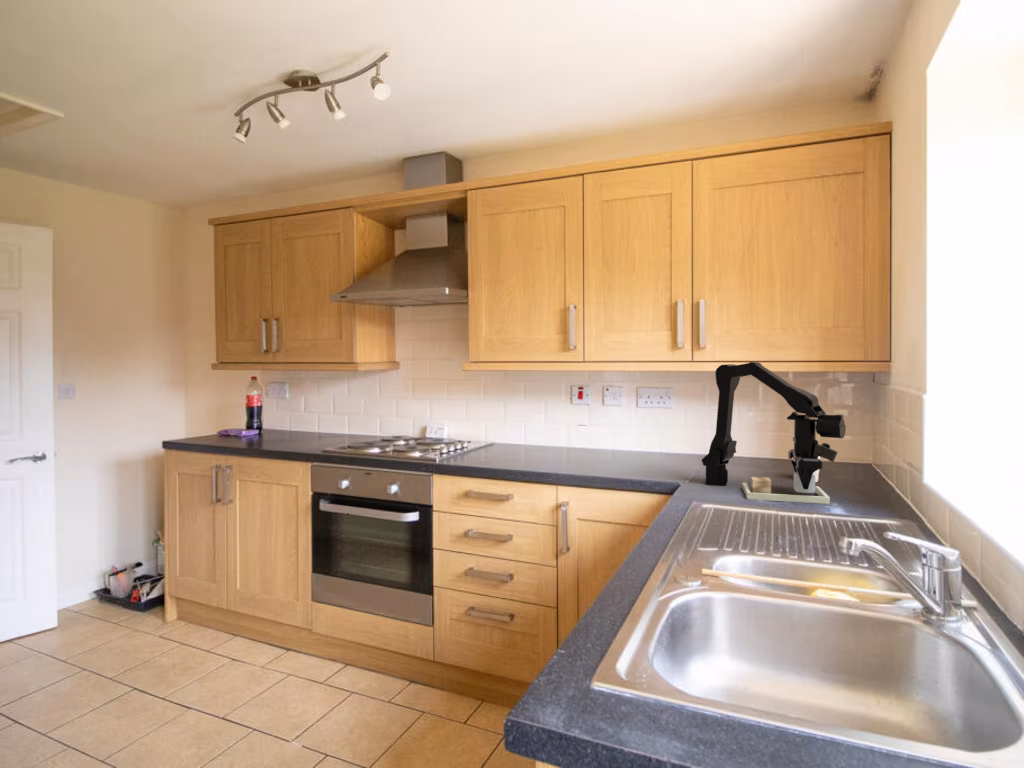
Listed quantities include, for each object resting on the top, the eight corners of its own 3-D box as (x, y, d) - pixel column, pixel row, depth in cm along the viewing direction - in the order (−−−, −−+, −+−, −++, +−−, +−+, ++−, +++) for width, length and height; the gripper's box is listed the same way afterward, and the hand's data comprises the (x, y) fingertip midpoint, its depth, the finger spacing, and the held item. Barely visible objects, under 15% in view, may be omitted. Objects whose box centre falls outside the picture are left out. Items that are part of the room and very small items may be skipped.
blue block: (796, 492, 172) (796, 475, 172) (793, 488, 177) (793, 472, 177) (815, 493, 171) (815, 476, 171) (811, 489, 176) (811, 472, 175)
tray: (747, 499, 172) (747, 493, 172) (742, 488, 186) (742, 482, 186) (829, 503, 166) (830, 497, 166) (818, 492, 180) (818, 486, 180)
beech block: (752, 496, 176) (753, 480, 176) (751, 492, 181) (751, 476, 180) (770, 497, 174) (771, 480, 174) (768, 493, 179) (768, 477, 179)
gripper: (843, 440, 162) (841, 496, 163) (827, 432, 180) (826, 482, 181) (799, 439, 165) (798, 493, 166) (788, 431, 183) (787, 480, 184)
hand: (803, 487), depth 174 cm, fingers closed on blue block, 5 cm apart
